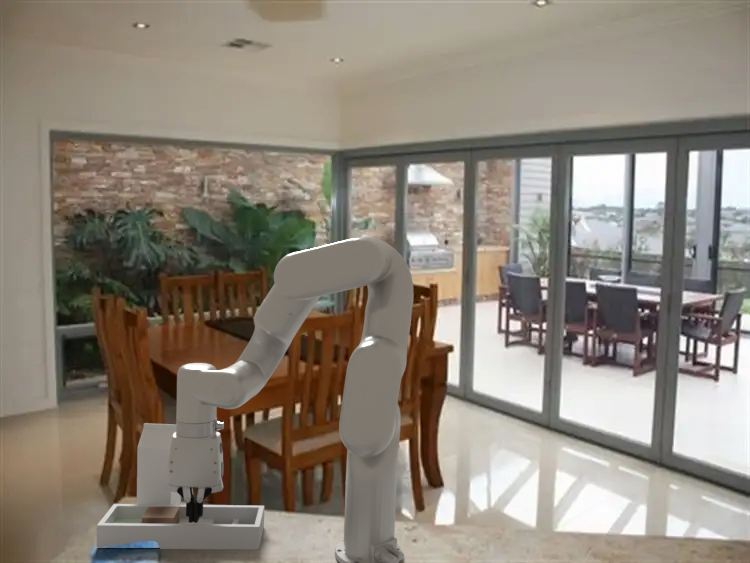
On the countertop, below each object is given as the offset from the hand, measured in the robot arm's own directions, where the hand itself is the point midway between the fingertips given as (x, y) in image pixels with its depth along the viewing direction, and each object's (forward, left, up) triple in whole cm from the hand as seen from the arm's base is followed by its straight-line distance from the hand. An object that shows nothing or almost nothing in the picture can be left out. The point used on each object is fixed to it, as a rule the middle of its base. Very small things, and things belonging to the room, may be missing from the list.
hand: (194, 519), depth 134 cm
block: (+4, +5, -2) cm, 7 cm away
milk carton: (+15, +1, -4) cm, 16 cm away
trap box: (+1, +2, -4) cm, 4 cm away
